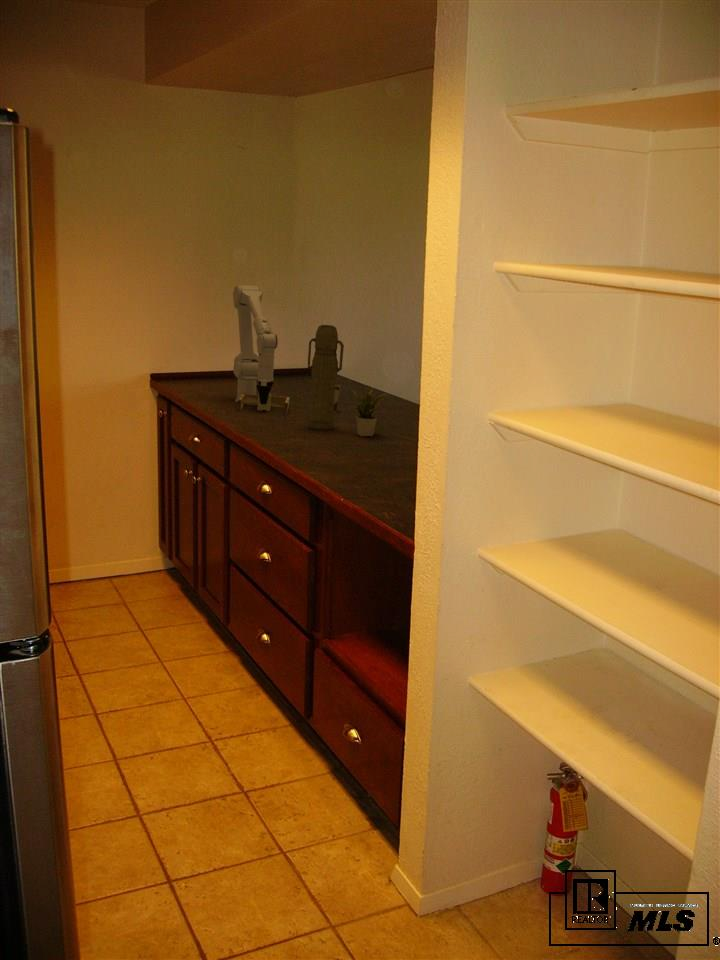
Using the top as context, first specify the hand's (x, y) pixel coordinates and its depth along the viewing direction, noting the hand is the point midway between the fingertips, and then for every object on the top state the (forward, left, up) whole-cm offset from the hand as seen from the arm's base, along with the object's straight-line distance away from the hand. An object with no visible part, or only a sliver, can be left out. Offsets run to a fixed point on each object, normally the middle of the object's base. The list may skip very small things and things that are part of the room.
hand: (264, 402), depth 355 cm
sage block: (0, 0, -3) cm, 3 cm away
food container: (-4, +22, -3) cm, 23 cm away
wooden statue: (+27, +22, -3) cm, 35 cm away
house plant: (+36, +38, -3) cm, 52 cm away
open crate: (0, 0, -3) cm, 3 cm away
